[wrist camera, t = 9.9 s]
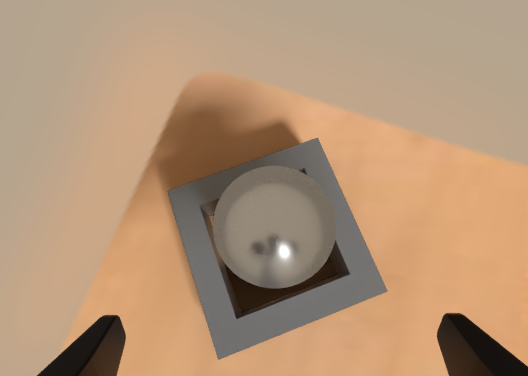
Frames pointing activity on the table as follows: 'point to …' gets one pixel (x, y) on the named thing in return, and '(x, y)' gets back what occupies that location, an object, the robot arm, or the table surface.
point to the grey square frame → (287, 307)
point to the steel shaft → (274, 227)
